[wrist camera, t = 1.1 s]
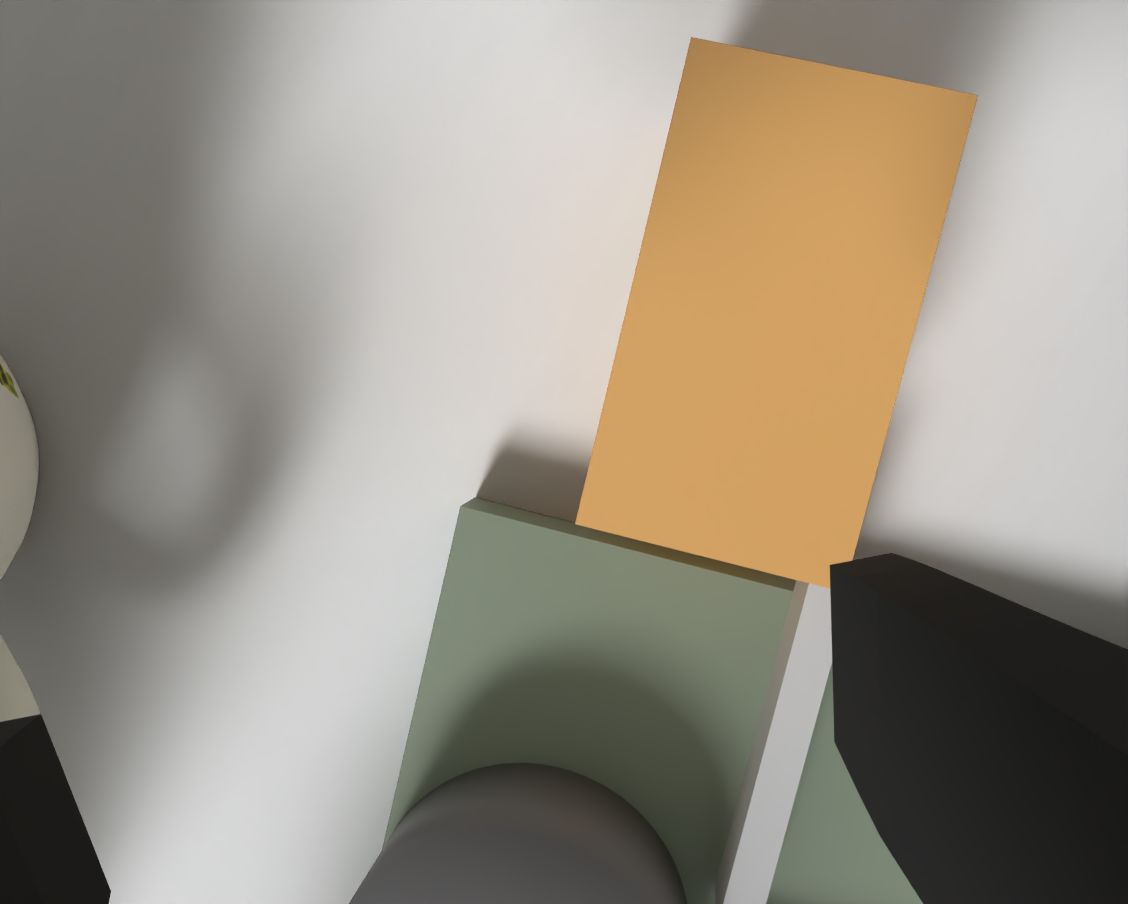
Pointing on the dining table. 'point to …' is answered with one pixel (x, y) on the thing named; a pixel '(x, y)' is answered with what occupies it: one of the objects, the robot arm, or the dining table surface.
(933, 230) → the tan rectangular prism
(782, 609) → the pale green tray
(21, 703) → the pitcher
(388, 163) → the dining table surface
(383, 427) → the dining table surface
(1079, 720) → the robot arm
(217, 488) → the dining table surface
